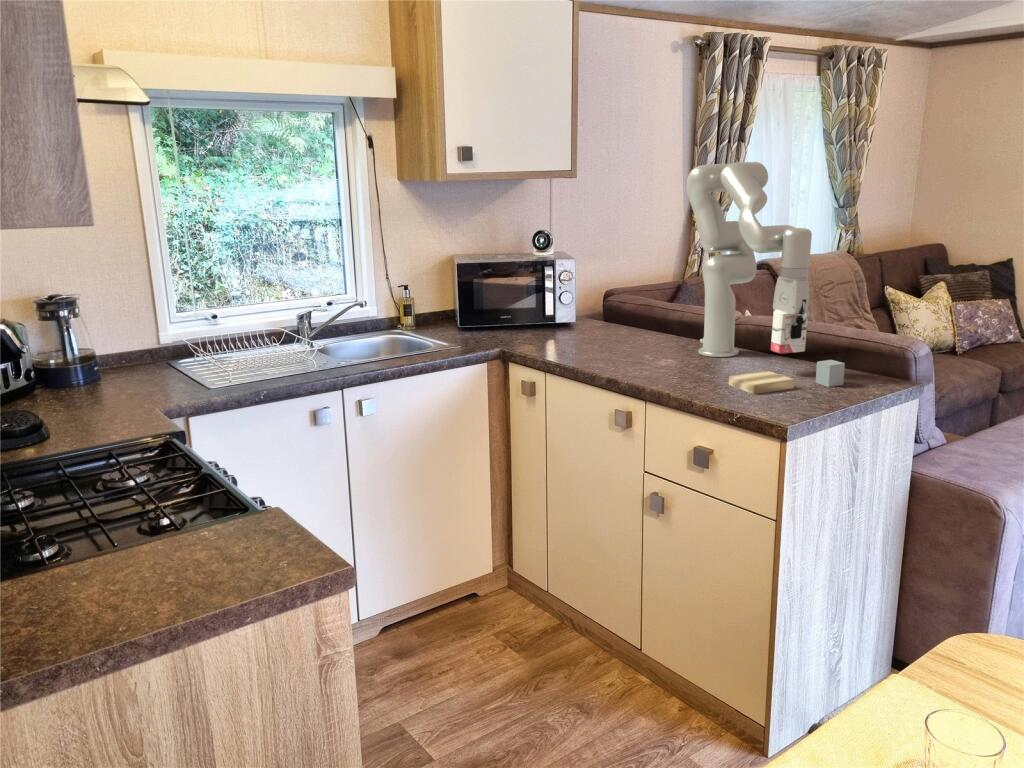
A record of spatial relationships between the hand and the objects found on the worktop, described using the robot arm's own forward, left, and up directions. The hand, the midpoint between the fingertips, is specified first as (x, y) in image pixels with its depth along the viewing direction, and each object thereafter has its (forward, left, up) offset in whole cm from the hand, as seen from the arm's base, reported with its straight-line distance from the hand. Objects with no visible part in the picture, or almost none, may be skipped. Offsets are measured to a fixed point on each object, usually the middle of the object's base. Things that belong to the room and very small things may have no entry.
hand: (788, 335), depth 229 cm
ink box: (0, 0, -5) cm, 5 cm away
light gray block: (+15, +2, -11) cm, 19 cm away
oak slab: (+9, -16, -12) cm, 22 cm away
